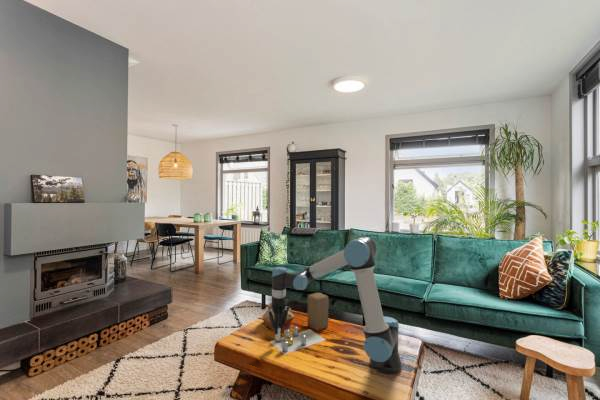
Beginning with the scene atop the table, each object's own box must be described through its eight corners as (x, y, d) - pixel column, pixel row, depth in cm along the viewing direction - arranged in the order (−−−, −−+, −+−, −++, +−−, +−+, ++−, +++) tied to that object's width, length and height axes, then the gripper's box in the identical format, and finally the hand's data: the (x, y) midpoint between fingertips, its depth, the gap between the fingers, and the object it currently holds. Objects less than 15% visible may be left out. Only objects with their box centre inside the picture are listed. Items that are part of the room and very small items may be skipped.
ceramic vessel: (280, 339, 169) (281, 313, 169) (258, 323, 190) (259, 300, 190) (299, 332, 177) (300, 308, 177) (276, 318, 198) (277, 296, 198)
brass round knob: (295, 343, 162) (295, 338, 162) (288, 346, 159) (288, 341, 158) (289, 340, 166) (289, 334, 165) (282, 343, 162) (282, 337, 162)
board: (326, 341, 167) (326, 339, 167) (284, 356, 151) (284, 354, 151) (309, 330, 180) (309, 329, 180) (269, 343, 164) (269, 341, 164)
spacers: (310, 344, 162) (310, 335, 162) (284, 353, 152) (284, 343, 152) (296, 334, 173) (296, 325, 173) (271, 341, 164) (271, 333, 164)
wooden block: (319, 321, 193) (319, 291, 193) (328, 327, 185) (329, 296, 185) (306, 325, 187) (307, 294, 187) (316, 331, 179) (316, 299, 179)
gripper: (285, 292, 164) (284, 333, 165) (264, 296, 157) (263, 339, 158) (292, 296, 158) (291, 339, 159) (271, 300, 151) (270, 345, 151)
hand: (277, 339), depth 158 cm, fingers closed
